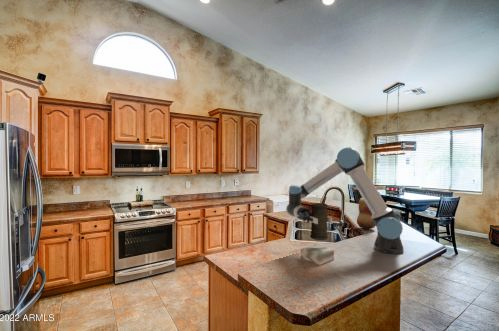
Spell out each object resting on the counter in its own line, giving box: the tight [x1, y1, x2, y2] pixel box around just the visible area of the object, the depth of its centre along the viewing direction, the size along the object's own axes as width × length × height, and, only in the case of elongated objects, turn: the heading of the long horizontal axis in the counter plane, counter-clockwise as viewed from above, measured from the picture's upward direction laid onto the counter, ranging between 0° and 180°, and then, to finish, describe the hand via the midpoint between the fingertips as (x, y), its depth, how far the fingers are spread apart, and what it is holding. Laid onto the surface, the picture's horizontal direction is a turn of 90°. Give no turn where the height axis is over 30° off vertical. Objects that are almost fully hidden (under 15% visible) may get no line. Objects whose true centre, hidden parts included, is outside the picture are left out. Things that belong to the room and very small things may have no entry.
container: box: [309, 202, 329, 241], centre depth 135 cm, size 9×9×18 cm
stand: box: [300, 244, 335, 266], centre depth 133 cm, size 12×12×5 cm
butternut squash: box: [356, 197, 376, 230], centre depth 198 cm, size 14×13×25 cm
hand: (324, 220), depth 130 cm, fingers closed on container, 8 cm apart
